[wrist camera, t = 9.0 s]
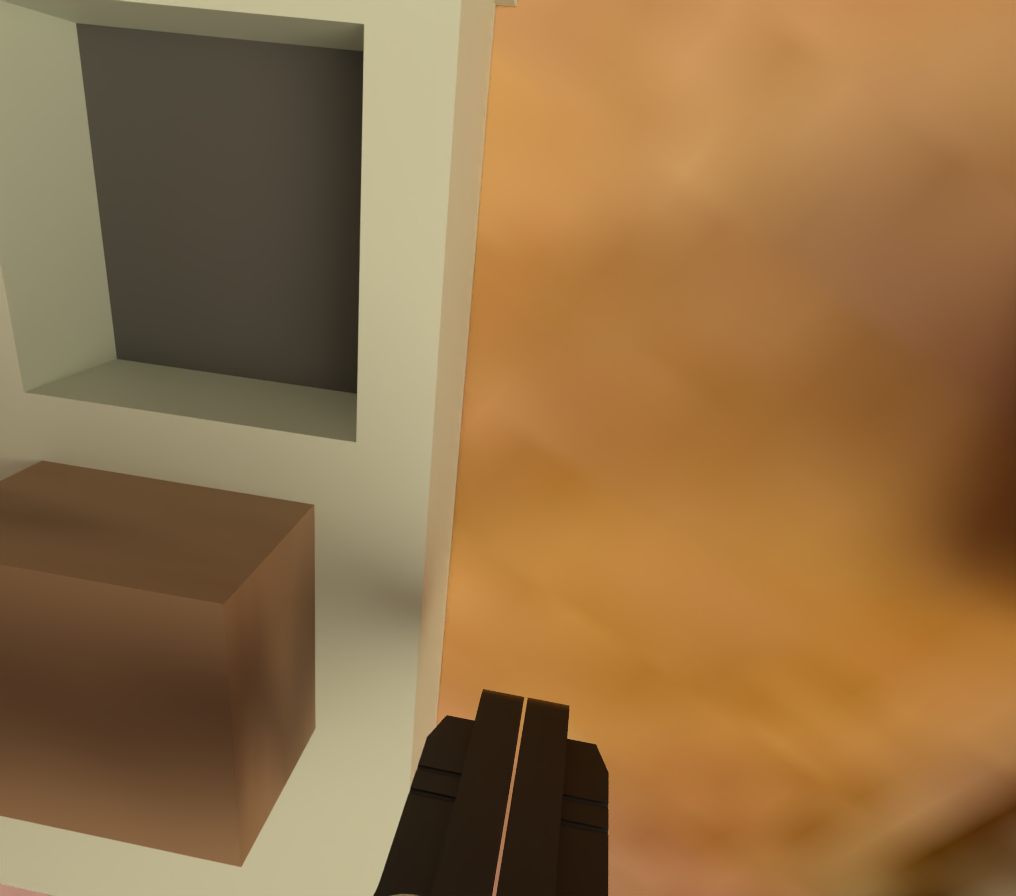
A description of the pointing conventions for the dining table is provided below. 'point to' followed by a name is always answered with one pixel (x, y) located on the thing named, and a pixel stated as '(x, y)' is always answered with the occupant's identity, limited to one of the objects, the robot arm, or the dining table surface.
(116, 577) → the block
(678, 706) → the dining table surface
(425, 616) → the box
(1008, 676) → the dining table surface
